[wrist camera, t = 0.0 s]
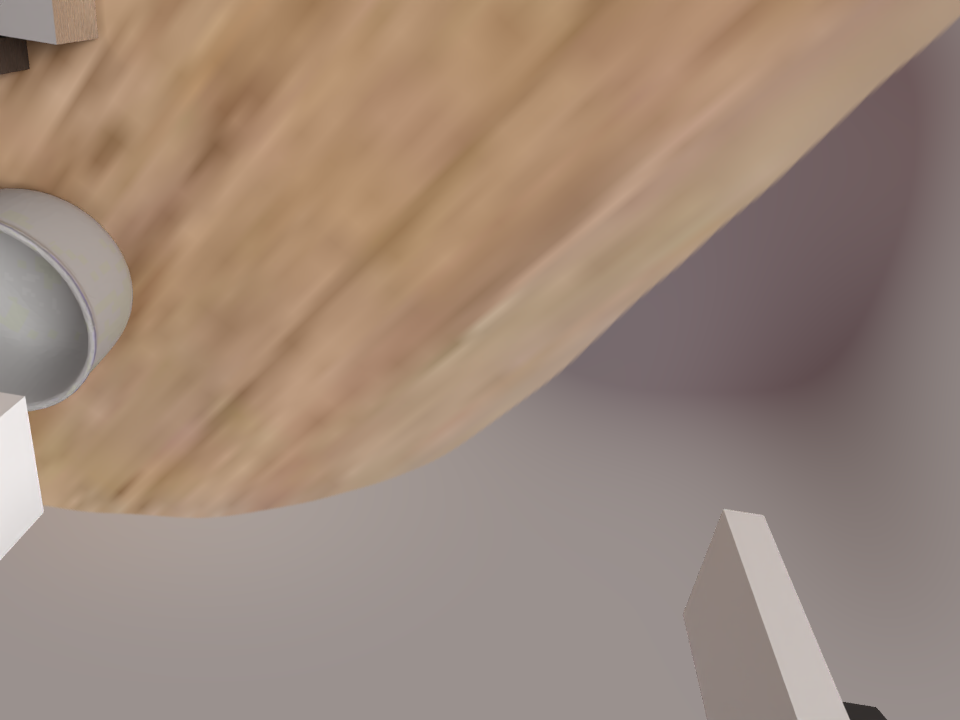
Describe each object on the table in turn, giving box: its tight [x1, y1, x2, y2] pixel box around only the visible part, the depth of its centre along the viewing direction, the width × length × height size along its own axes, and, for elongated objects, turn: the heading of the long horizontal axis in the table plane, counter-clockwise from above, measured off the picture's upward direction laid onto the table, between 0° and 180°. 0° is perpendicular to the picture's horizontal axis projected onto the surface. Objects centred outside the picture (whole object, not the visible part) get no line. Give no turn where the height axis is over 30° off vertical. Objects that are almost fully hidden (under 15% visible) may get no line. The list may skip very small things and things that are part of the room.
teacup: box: [0, 188, 133, 411], centre depth 40 cm, size 14×11×8 cm
